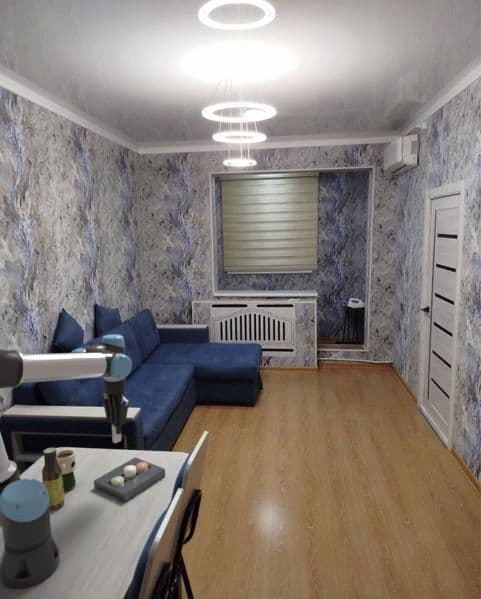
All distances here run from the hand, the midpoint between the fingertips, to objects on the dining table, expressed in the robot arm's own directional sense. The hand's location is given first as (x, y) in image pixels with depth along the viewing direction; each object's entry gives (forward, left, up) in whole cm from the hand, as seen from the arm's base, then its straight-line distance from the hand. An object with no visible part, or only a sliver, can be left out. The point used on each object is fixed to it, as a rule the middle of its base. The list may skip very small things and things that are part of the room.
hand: (117, 441), depth 161 cm
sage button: (-2, -2, -17) cm, 17 cm away
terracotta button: (+10, -2, -17) cm, 19 cm away
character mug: (-11, +15, -17) cm, 25 cm away
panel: (+4, -2, -17) cm, 17 cm away
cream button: (+4, -2, -15) cm, 16 cm away
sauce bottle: (-20, +9, -17) cm, 28 cm away
